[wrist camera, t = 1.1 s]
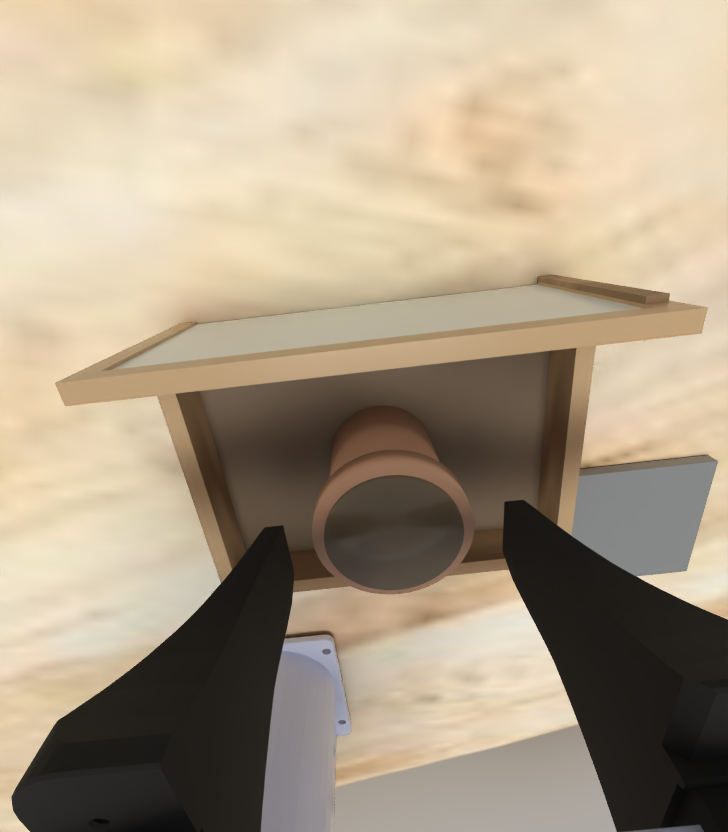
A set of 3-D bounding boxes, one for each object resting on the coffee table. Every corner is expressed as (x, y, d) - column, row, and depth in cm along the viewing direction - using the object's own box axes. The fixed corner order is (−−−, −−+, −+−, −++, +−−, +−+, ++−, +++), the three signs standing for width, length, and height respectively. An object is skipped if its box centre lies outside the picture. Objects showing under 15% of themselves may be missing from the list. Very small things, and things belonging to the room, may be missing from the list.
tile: (678, 563, 22) (686, 571, 22) (553, 575, 23) (559, 584, 22) (707, 455, 20) (718, 461, 19) (565, 470, 20) (571, 477, 19)
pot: (441, 493, 19) (475, 590, 14) (332, 505, 20) (324, 605, 14) (437, 390, 17) (477, 457, 12) (314, 404, 17) (298, 477, 12)
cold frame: (544, 528, 21) (618, 638, 15) (240, 561, 21) (198, 681, 16) (567, 273, 16) (693, 290, 10) (166, 320, 16) (61, 364, 10)
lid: (553, 295, 16) (701, 333, 9) (183, 338, 17) (65, 406, 10) (555, 279, 16) (707, 307, 9) (179, 324, 16) (54, 383, 9)
